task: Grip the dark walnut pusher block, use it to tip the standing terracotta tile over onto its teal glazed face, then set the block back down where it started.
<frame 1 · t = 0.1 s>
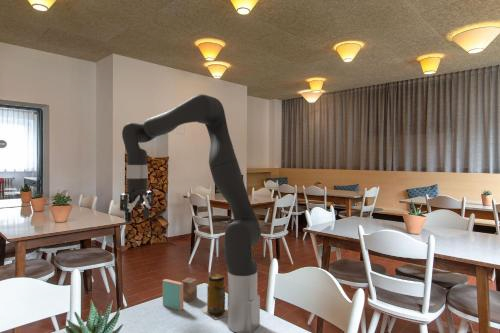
hand: (137, 220, 121), 29 cm above the table, tool pointing down, fingers open, 8 cm apart
pusher block: (189, 298, 120), on the table
condiment: (217, 312, 110), on the table
tile: (172, 306, 114), on the table
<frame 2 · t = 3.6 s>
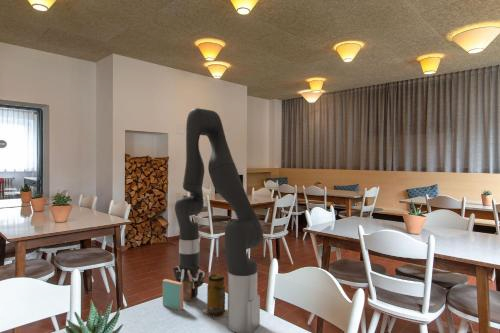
hand: (189, 295, 120), 1 cm above the table, tool pointing down, fingers closed on pusher block, 4 cm apart
pusher block: (189, 298, 120), on the table, touching gripper
everything else where it was.
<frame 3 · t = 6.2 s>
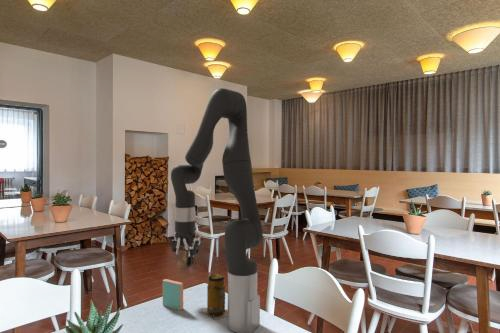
hand: (185, 264, 120), 13 cm above the table, tool pointing down, fingers closed on pusher block, 4 cm apart
pusher block: (185, 267, 120), point 12 cm above the table, touching gripper
everything else where it was.
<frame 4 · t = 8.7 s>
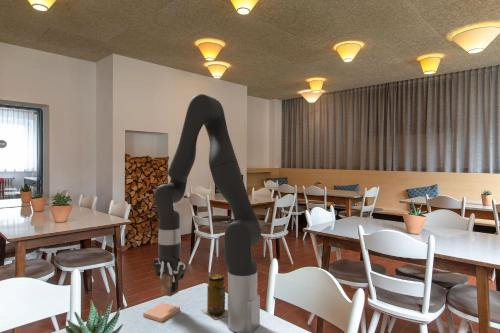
hand: (169, 290, 112), 7 cm above the table, tool pointing down, fingers closed on pusher block, 4 cm apart
pusher block: (169, 293, 112), point 5 cm above the table, touching gripper
tile: (171, 306, 113), on the table, tilted 90°
everything else where it was.
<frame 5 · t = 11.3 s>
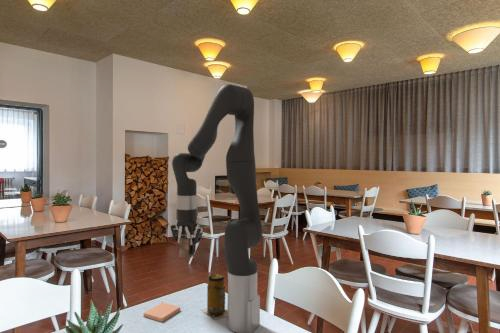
hand: (186, 253, 119), 17 cm above the table, tool pointing down, fingers closed on pusher block, 4 cm apart
pusher block: (187, 256, 119), point 16 cm above the table, touching gripper
everything else where it was.
when the fingers open (3 cm above the table, at t = 13.8 s): pusher block drops 1 cm, on the table.
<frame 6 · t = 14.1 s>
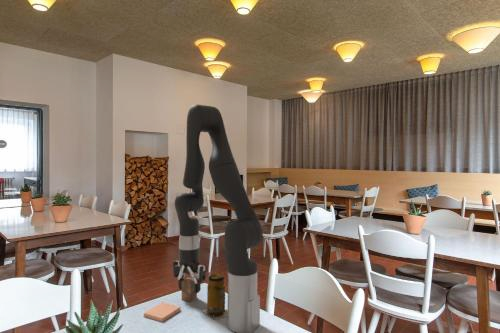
hand: (189, 290, 120), 3 cm above the table, tool pointing down, fingers open, 6 cm apart
pusher block: (189, 298, 120), on the table
everything else where it was.
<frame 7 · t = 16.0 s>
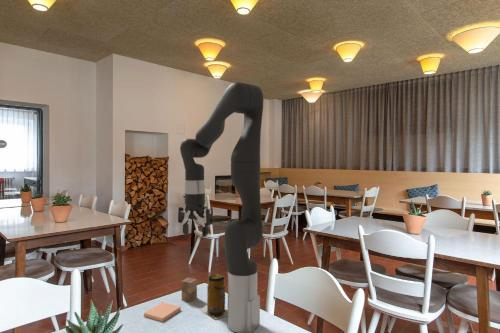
hand: (195, 235, 121), 23 cm above the table, tool pointing down, fingers open, 8 cm apart
nothing on the table moved.
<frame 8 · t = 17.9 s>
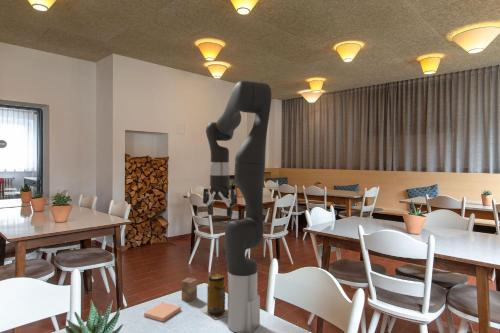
hand: (219, 215, 125), 30 cm above the table, tool pointing down, fingers open, 8 cm apart
nothing on the table moved.
at the end: tile tilted 90°; tile inside the target area (2.8 cm from its centre), on the table; pusher block inside the target area (0.0 cm from its centre), on the table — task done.
